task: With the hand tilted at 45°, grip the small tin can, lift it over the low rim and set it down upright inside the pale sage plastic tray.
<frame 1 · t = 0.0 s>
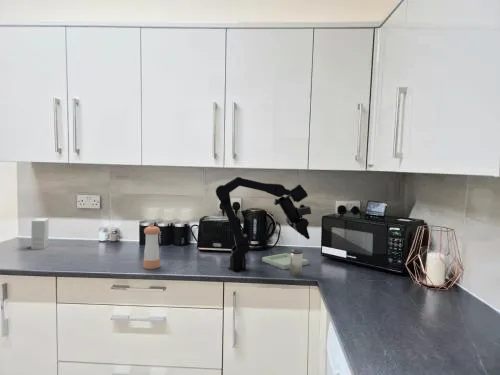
hand: (305, 236, 153), 15 cm above the worktop, tool tilted 35°, fingers open, 9 cm apart
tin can: (295, 275, 144), on the worktop
skincare box: (40, 247, 181), on the worktop
pepper shaker: (151, 267, 152), on the worktop
tray: (285, 262, 163), on the worktop
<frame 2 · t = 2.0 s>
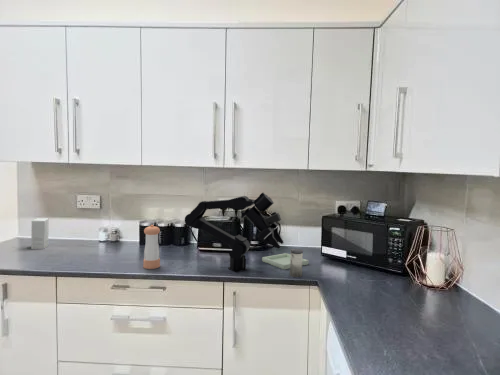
hand: (281, 245, 145), 13 cm above the worktop, tool tilted 45°, fingers open, 9 cm apart
nothing on the worktop moved.
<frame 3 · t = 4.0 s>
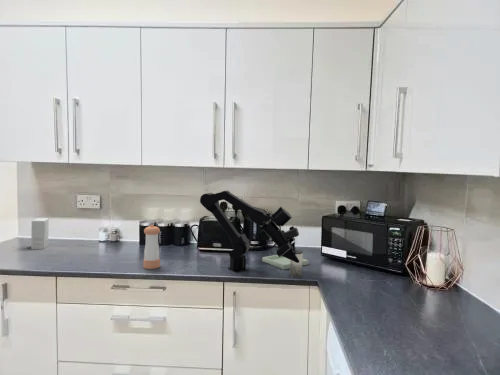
hand: (299, 260, 143), 7 cm above the worktop, tool tilted 45°, fingers closed on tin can, 5 cm apart
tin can: (295, 275, 144), on the worktop, touching gripper
everything else where it was.
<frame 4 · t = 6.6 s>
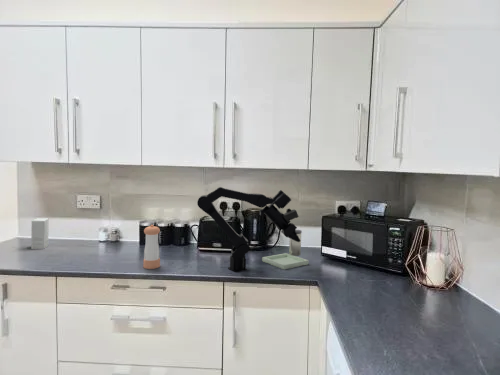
hand: (298, 240, 152), 13 cm above the worktop, tool tilted 45°, fingers closed on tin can, 5 cm apart
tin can: (294, 254, 153), point 7 cm above the worktop, touching gripper
everything else where it was.
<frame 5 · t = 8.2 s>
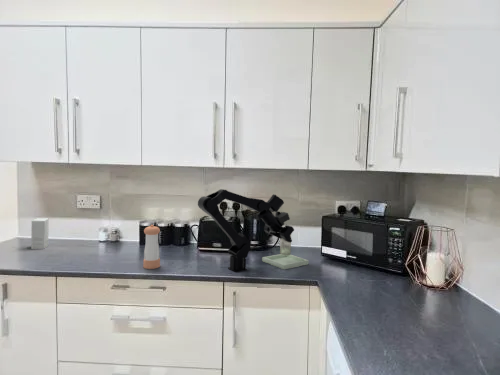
hand: (287, 240, 163), 11 cm above the worktop, tool tilted 45°, fingers closed on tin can, 5 cm apart
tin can: (285, 254, 163), point 4 cm above the worktop, touching gripper
everything else where it was.
when the fingers open (8 cm above the worktop, at t = 9.1 s): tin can drops 1 cm, resting on tray.
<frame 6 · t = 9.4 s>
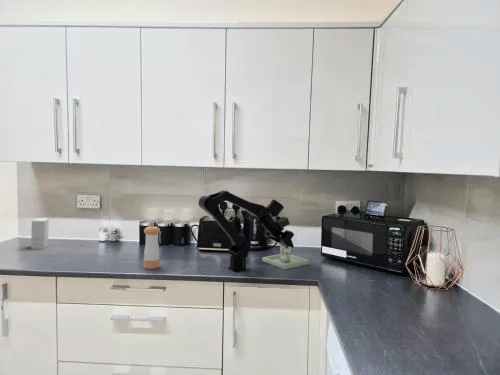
hand: (287, 245, 163), 9 cm above the worktop, tool tilted 45°, fingers open, 8 cm apart
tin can: (285, 261, 163), point 1 cm above the worktop, touching tray
everything else where it was.
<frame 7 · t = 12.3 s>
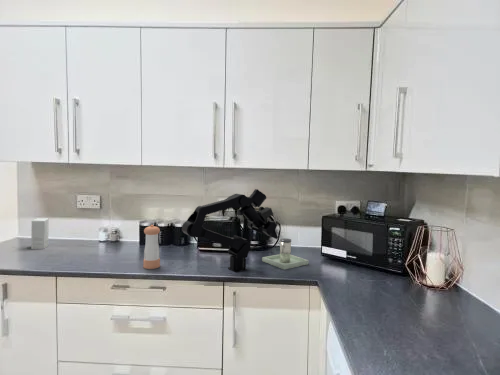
hand: (271, 236, 158), 14 cm above the worktop, tool tilted 45°, fingers open, 9 cm apart
nothing on the worktop moved.
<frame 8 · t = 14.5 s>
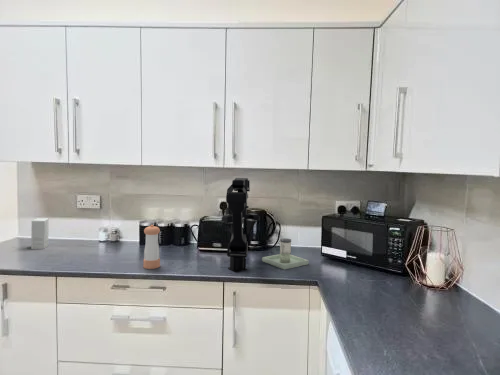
hand: (240, 235, 162), 13 cm above the worktop, tool pointing down, fingers open, 9 cm apart
nothing on the worktop moved.
at the end: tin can inside the target area on the tray (0.0 cm from its centre), point 0.5 cm above the tray's base; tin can tilted 0°; the gripper is holding nothing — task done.
